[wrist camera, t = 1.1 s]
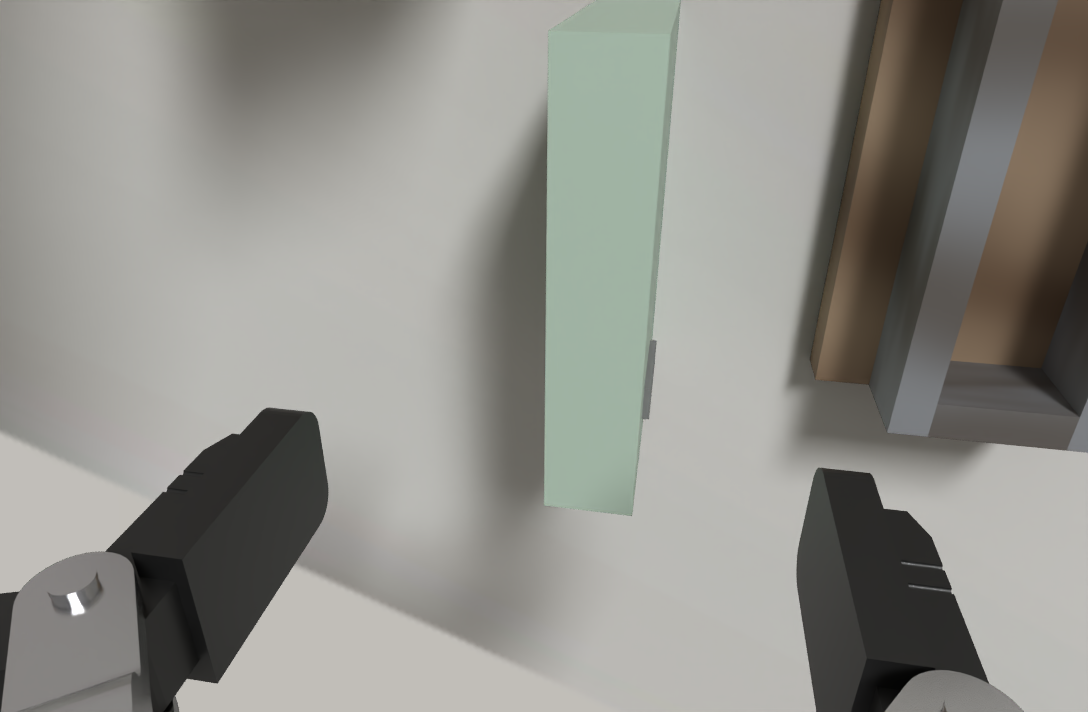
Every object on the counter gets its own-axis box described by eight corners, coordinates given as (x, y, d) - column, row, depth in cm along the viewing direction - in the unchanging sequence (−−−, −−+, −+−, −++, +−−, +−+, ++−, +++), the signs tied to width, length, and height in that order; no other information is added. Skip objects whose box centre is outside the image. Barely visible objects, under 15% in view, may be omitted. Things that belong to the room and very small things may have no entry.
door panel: (603, -5, 24) (548, 30, 15) (687, -3, 24) (681, 34, 15) (589, 339, 30) (544, 505, 21) (656, 345, 29) (639, 516, 21)
